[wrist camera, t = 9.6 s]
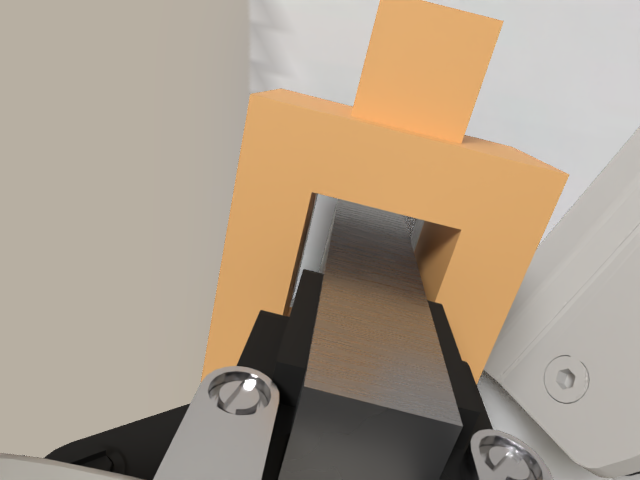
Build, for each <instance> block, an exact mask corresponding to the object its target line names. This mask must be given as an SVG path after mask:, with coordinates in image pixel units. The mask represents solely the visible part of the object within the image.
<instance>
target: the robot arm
mask: <svg viewBox="0 0 640 480" xmlns="http://www.w3.org/2000/svg"><path fill="white" fill-rule="evenodd" d="M323 276H324V274H321V273H317V272H313V271H309V270H305V269H303V273H302V276H301V279H300V283H299V286H298V290H297V293H296V296H295V300H294V303H293V306H292V310H291V313H290V317H288V316H284V315H280V314H276V313H272V312H268V311H264V310H260V312H259V314H258V317H257V319H256V321H255V324H254V326H253V328H252V331H251V333H250V335H249V338H248V340H247V342H246V345H245V347H244V349H243V352H242V354H241V356H240V359H239V361H238V363H237V366H229V367H223V368H220V369H216V370H214V371H213V372H211V373H209V374H208V375H206V377H205V378H204V379H203V381H202V382H201V383H200V386H199V388H198V390H197V392H196V394H195V396H194V398H193V400H192V402H191V403H190V404H187V405H184V406H181V407H178V408H175V409H172V410H169V411H166V412H163V413H160V414H157V415H154V416H151V417H148V418H144V419H141V420H138V421H135V422H132V423H129V424H127V425H123V426H120V427H117V428H114V429H111V430H108V431H105V432H102V433H99V434H96V435H93V436H90V437H87V438H84V439H80V440H77V441H74V442H71V443H69V444H67V445H64V446H62V447H60V448H58V449H56V450H54V451H53V452H51V453H50V454H49V455H47V456H46V457H45V458H39V457H30V456H25V455H14V454H5V453H0V480H278V477H279V474H280V470H281V466H282V463H283V459H284V455H285V452H286V448H287V444H288V441H289V437H290V434H291V429H292V424H293V419H294V414H295V409H296V405H297V401H298V397H299V394H300V390H301V386H302V383H303V379H304V375H305V372H306V368H307V362H308V357H309V351H310V346H311V341H312V335H313V330H314V324H315V319H316V313H317V308H318V303H319V297H320V292H321V286H322V281H323ZM427 301H428V300H427ZM428 304H429V308H430V311H431V315H432V319H433V322H434V326H435V329H436V333H437V336H438V340H439V343H440V347H441V350H442V354H443V358H444V361H445V365H446V368H447V372H448V375H449V379H450V382H451V386H452V389H453V393H454V397H455V400H456V404H457V407H458V411H459V414H460V418H461V421H462V425H463V427H462V430H461V432H460V434H459V436H458V438H457V441H456V443H455V445H454V447H453V449H452V452H451V454H450V456H449V458H448V460H447V463H446V465H445V467H444V469H443V471H442V474H441V476H440V478H439V480H554V479H553V477H552V475H551V473H550V471H549V469H548V467H547V466H546V464H545V463H544V461H543V460H542V458H541V457H540V456H539V455H538V454H537V453H536V452H535V451H534V450H533V449H532V448H530V447H529V446H528V445H527V444H525V443H524V442H523V441H521V440H519V439H517V438H515V437H514V436H512V435H510V434H507V433H504V432H501V431H498V430H493V428H492V426H491V423H490V420H489V418H488V415H487V412H486V410H485V407H484V404H483V401H482V399H481V396H480V393H479V391H478V388H477V385H476V383H475V380H474V377H473V374H472V372H471V369H470V366H469V365H468V363H467V362H465V361H462V359H461V356H460V353H459V350H458V347H457V345H456V342H455V339H454V336H453V333H452V330H451V328H450V325H449V322H448V319H447V316H446V313H445V311H444V308H443V305H442V304H440V303H436V302H432V301H428Z"/></svg>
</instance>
